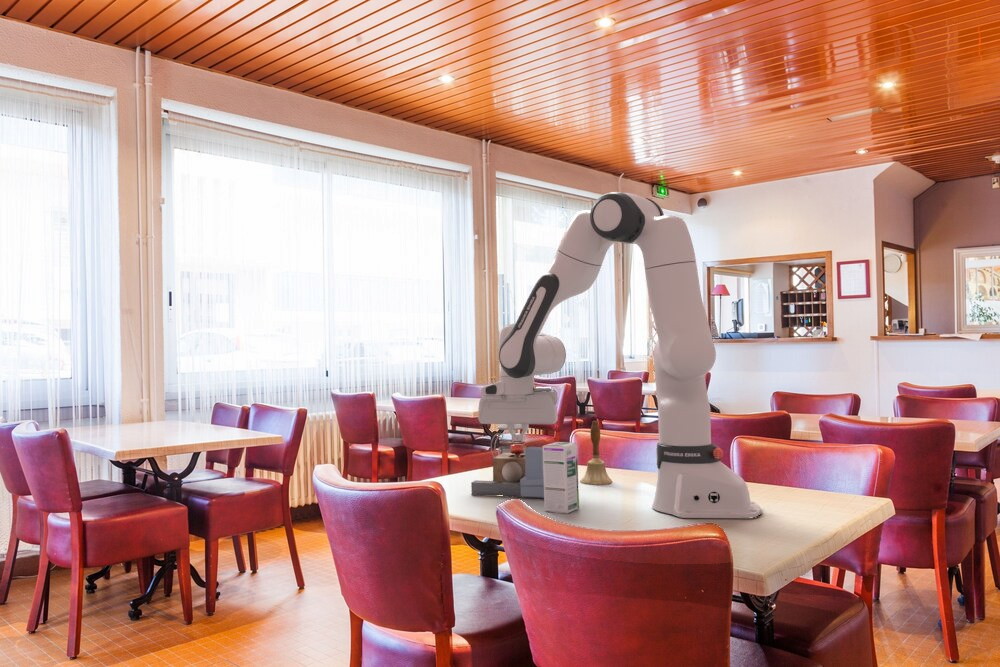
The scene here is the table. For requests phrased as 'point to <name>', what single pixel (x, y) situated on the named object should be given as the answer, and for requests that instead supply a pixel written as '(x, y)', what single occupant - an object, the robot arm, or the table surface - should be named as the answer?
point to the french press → (506, 442)
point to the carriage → (533, 473)
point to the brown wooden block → (508, 467)
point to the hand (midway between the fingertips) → (518, 441)
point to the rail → (497, 488)
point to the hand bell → (596, 462)
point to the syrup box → (560, 477)
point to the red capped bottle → (517, 449)
